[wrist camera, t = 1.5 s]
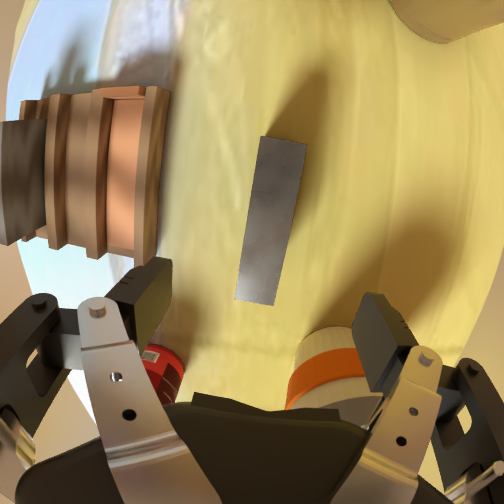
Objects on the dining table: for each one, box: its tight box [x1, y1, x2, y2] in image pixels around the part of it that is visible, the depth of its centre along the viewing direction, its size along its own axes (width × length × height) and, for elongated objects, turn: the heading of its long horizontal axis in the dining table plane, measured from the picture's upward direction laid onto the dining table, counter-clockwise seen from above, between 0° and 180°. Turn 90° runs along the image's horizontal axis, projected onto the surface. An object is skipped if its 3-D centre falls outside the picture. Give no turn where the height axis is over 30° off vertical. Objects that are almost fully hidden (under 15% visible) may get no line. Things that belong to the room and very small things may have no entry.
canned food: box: [141, 344, 184, 406], centre depth 31 cm, size 8×8×11 cm
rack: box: [0, 86, 171, 268], centre depth 22 cm, size 17×18×10 cm
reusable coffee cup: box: [285, 326, 383, 428], centre depth 26 cm, size 13×13×15 cm
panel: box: [235, 136, 307, 306], centre depth 23 cm, size 12×3×8 cm, turn 171°
